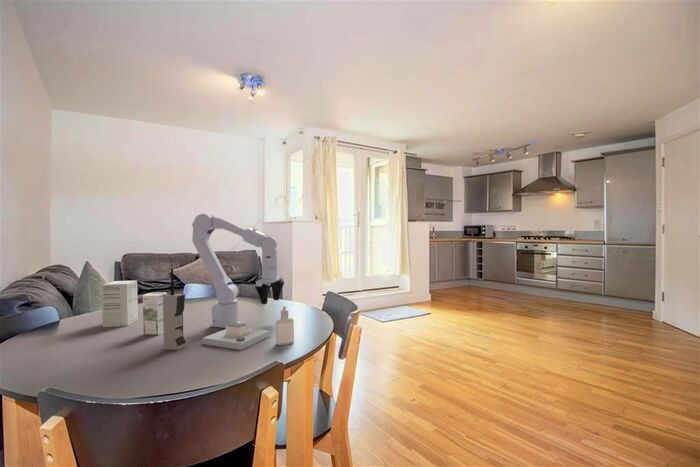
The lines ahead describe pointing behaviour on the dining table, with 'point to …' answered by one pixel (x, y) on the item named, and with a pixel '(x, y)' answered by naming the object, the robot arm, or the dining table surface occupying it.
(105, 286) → the supplement box
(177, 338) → the vintage mobile phone
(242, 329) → the plug block
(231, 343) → the socket plate
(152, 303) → the syrup box
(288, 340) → the eye dropper bottle
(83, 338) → the dining table surface
